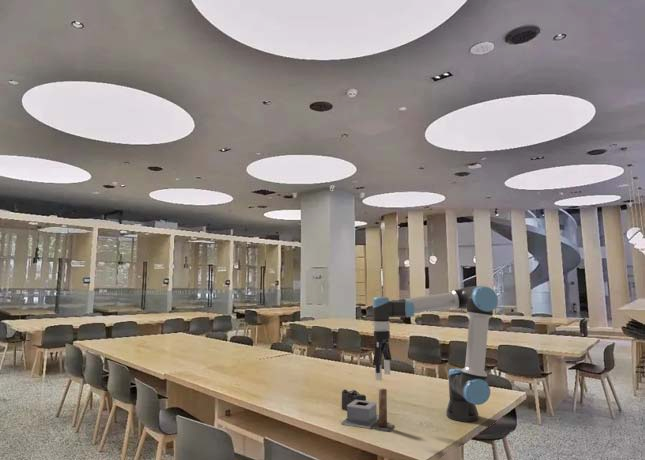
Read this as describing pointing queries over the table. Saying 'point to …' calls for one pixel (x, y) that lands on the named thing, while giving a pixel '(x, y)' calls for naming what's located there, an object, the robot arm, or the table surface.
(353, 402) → the box
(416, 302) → the robot arm
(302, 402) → the table surface
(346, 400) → the camera
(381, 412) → the walnut dowel
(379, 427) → the rubber mat
